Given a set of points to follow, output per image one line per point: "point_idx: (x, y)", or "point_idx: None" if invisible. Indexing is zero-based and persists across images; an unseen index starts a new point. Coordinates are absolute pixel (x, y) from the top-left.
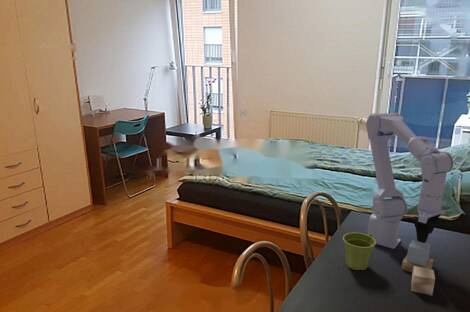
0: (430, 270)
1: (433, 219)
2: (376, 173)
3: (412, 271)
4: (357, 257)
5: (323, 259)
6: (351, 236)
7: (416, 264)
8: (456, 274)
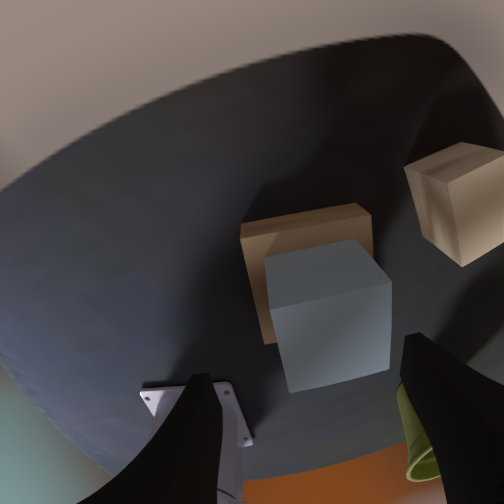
0: (460, 193)
1: (188, 490)
2: None
3: None
4: None
5: None
6: (420, 470)
7: None
8: (212, 116)
